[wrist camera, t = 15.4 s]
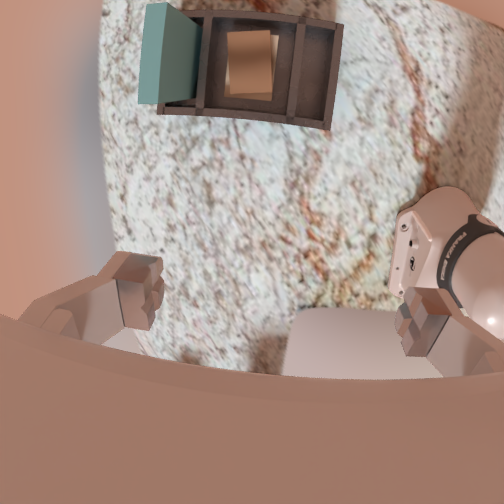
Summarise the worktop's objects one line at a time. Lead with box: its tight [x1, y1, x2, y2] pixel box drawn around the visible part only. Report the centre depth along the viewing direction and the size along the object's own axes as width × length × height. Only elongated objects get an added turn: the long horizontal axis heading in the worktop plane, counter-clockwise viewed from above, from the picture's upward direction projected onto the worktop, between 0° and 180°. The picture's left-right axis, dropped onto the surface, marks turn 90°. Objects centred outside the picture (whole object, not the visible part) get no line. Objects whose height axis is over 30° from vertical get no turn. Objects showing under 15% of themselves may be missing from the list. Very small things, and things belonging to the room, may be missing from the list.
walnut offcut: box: [227, 30, 272, 94], centre depth 33 cm, size 8×5×2 cm, turn 2°
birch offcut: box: [224, 35, 279, 101], centre depth 36 cm, size 9×6×2 cm, turn 174°
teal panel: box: [138, 2, 203, 104], centre depth 30 cm, size 10×2×16 cm, turn 174°
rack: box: [157, 10, 344, 131], centre depth 35 cm, size 14×22×6 cm, turn 84°
